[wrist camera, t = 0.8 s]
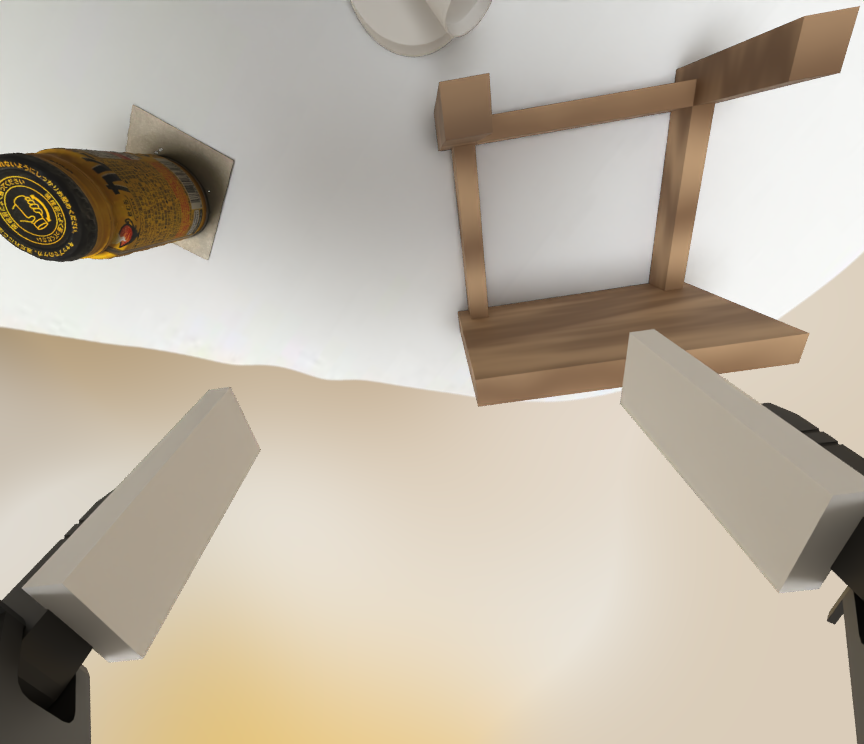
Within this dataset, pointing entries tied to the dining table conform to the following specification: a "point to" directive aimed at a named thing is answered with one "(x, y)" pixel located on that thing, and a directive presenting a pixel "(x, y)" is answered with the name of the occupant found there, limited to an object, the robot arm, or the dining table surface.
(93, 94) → the dining table surface
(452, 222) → the dining table surface
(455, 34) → the wall hook
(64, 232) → the condiment
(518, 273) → the dining table surface
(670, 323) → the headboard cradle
